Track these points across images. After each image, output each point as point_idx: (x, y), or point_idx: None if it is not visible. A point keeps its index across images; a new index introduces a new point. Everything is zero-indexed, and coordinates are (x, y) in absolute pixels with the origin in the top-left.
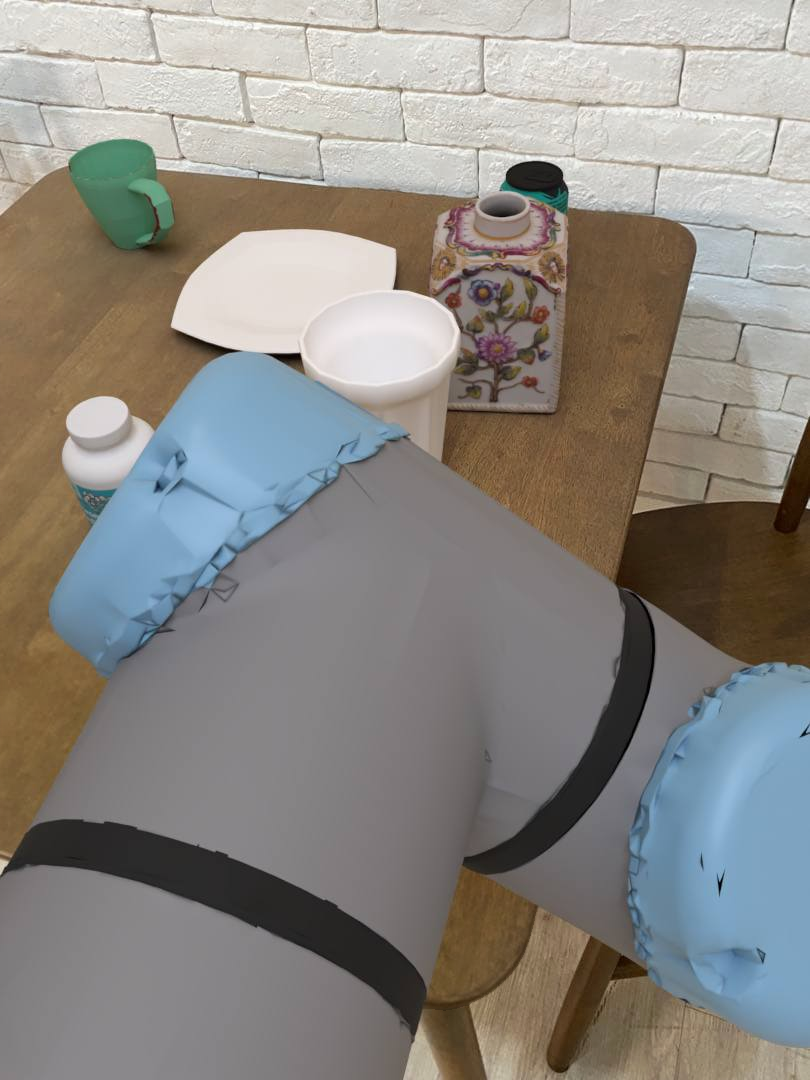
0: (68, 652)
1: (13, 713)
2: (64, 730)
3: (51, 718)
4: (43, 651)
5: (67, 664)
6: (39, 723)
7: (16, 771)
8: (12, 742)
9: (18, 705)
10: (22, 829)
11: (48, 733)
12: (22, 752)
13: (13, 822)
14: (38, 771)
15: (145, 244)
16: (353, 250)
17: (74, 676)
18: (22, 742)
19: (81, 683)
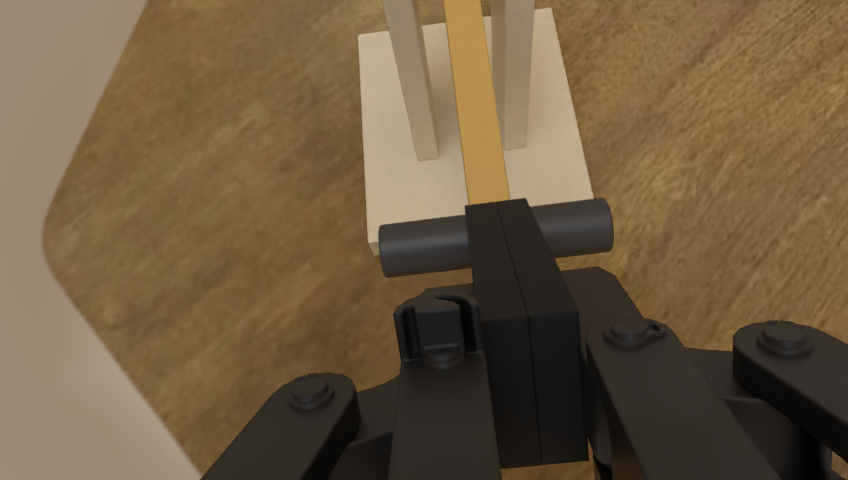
0: (212, 18)
1: (119, 71)
2: (160, 116)
3: (154, 95)
4: (186, 6)
5: (204, 32)
6: (139, 96)
7: (86, 146)
8: (100, 107)
9: (128, 63)
10: (56, 224)
11: (142, 113)
12: (104, 125)
13: (52, 210)
14: (108, 157)
15: None
16: None
17: (204, 51)
18: (110, 112)
19: (207, 63)
